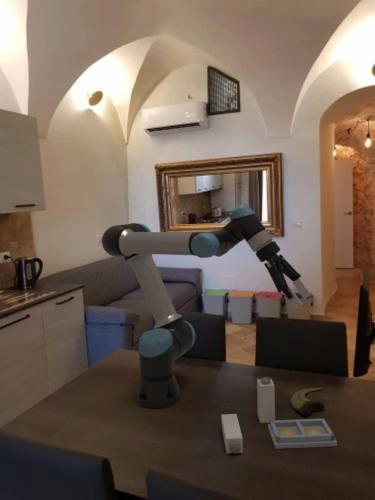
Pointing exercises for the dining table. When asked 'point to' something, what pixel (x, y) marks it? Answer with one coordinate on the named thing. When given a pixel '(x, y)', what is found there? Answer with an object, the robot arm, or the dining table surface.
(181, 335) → the robot arm
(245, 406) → the dining table surface
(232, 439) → the white rectangular block
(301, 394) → the claw
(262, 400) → the white square bottle
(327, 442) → the tray
